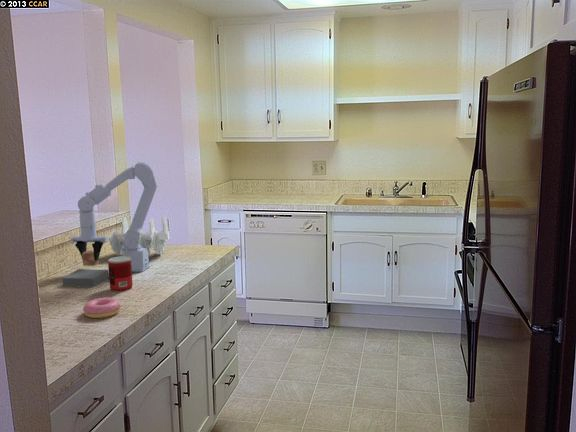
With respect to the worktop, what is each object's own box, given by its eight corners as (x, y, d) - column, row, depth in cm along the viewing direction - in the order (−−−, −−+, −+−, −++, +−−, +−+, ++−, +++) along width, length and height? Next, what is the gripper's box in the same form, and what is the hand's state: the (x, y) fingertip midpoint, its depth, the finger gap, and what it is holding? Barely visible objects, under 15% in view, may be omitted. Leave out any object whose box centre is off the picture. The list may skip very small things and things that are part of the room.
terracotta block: (99, 262, 209) (98, 250, 208) (93, 265, 204) (92, 253, 203) (88, 262, 209) (87, 250, 208) (83, 265, 205) (82, 253, 204)
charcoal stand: (108, 277, 200) (108, 269, 200) (93, 286, 189) (93, 278, 188) (79, 276, 202) (78, 269, 201) (62, 285, 190) (62, 278, 189)
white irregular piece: (119, 261, 240) (172, 258, 241) (106, 253, 223) (164, 250, 224) (120, 223, 245) (172, 220, 246) (107, 213, 228) (164, 209, 229)
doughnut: (127, 313, 162) (126, 300, 161) (94, 323, 154) (92, 309, 153) (110, 305, 169) (109, 293, 168) (77, 314, 161) (76, 301, 160)
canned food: (137, 286, 189) (135, 256, 187) (123, 292, 181) (121, 262, 180) (119, 284, 191) (117, 255, 189) (105, 290, 184) (103, 260, 182)
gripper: (65, 228, 201) (68, 261, 203) (100, 228, 199) (103, 262, 202) (74, 224, 208) (77, 257, 210) (109, 225, 206) (111, 258, 209)
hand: (90, 259), depth 206 cm, fingers closed on terracotta block, 4 cm apart
